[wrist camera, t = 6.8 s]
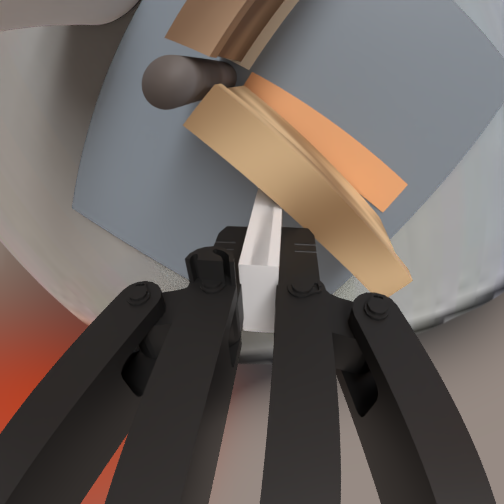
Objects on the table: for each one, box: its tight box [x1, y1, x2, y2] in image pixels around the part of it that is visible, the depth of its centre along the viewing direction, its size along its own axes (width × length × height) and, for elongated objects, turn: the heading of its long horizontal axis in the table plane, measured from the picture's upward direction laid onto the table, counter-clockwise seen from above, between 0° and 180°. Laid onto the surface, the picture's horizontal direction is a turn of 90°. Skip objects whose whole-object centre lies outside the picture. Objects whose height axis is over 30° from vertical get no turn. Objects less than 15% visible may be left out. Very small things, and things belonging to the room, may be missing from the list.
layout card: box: [72, 0, 504, 294], centre depth 14 cm, size 21×27×1 cm
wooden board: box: [183, 84, 413, 297], centre depth 12 cm, size 11×2×6 cm, turn 49°
